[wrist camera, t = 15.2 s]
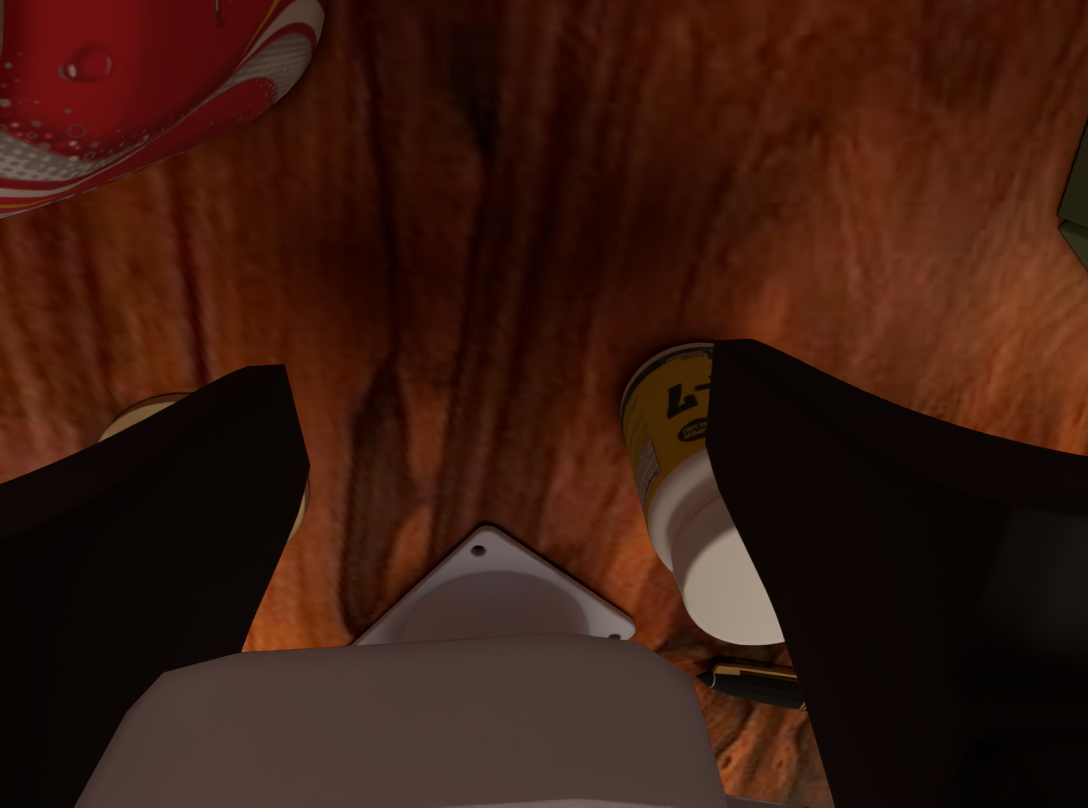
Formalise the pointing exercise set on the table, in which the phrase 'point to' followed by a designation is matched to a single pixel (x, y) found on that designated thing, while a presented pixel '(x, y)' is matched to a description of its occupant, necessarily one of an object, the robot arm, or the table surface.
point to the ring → (1077, 204)
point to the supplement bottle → (691, 497)
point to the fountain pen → (756, 684)
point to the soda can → (135, 84)
